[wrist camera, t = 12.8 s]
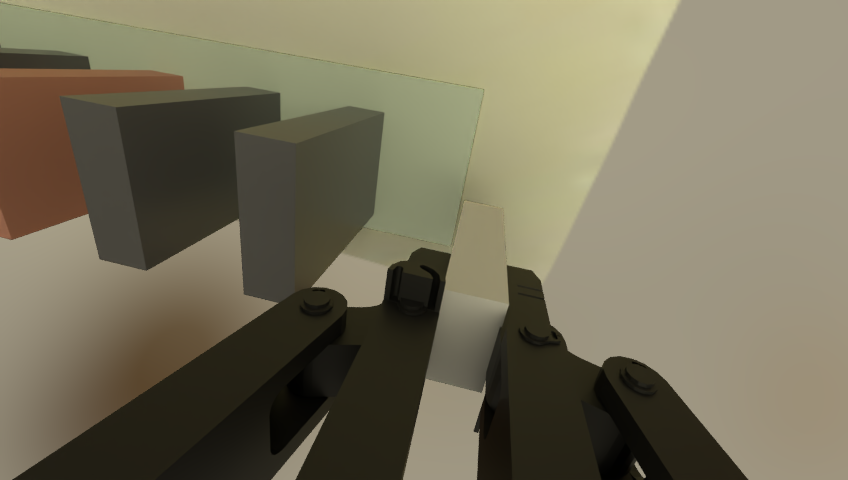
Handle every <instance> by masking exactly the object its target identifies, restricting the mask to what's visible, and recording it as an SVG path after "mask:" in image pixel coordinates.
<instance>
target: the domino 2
mask: <svg viewBox="0 0 848 480" xmlns="http://www.w3.org/2000/svg"><path fill="white" fill-rule="evenodd" d="M383 123H384V112H379V111H374V110H368V109H363V108H358V107H352V106H347V107H342V108H337V109H333V110H328V111H324V112H319V113H315V114H310V115H305V116H301V117H296V118H292V119H287V120H282V121H278V122H273V123H269V124H264V125H260V126H255V127H250V128H246V129H241V130H237V131H234V139H235V156H236V172H237V189H238V205H239V222H240V238H241V253H242V270H243V287H244V294H245V295H249V296H253V297H257V298H261V299H265V300H269V301H273V302H278V303H280V302H281V301H283V300H284V299H286V298H287V297H289V296H290V295H292V294H293V293H295V292H298V291H300V290H302V289H307V288H311V287H312V285H313V284H314V283H315V282H316V281H317V280H318V279H319V277H320V276H321V275H322V274H323V273H324V272H325V270H326V269H327V268H328V267H329V266H330V265H331V264H332V262H333V261H334V260H335V259H336V258H337V257H338V255H339V254H340V253H341V252H342V251H343V250H344V248H345V247H346V246H347V245H348V244H349V243H350V241H351V240H352V239H353V238H354V237H355V236H356V235H357V233H358V232H359V231H360V230H361V229H362V228H363V226H364V225H365V224H366V223H367V222H368V221H369V219H370V218H371V217H372V216H373V215H374V207H375V198H376V188H377V179H378V170H379V160H380V151H381V141H382V132H383Z"/></svg>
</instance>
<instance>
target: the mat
mask: <svg viewBox="0 0 848 480" xmlns="http://www.w3.org/2000/svg"><path fill="white" fill-rule="evenodd" d="M0 45H1V48H15V49H34V50H52V51H62V52H67V53H72V54H77V55H83V56H88V58H89V63H90V68H91V69H93V70H153V71H158V72H163V73H169V74H174V75H179V76H183V81H184V90H187V89H207V88H227V87H252V88H257V89H263V90H268V91H273V92H278V93H280V111H281V121H282V120H287V119H292V118H296V117H301V116H305V115H310V114H315V113H319V112H324V111H328V110H333V109H337V108H342V107H347V106H352V107H358V108H363V109H368V110H374V111H379V112H384V123H383V132H382V141H381V151H380V160H379V170H378V179H377V188H376V198H375V207H374V215H373V216H372V217H371V218H370V219H369V221H368V222H367V223H366V224H365V225H364V226H363V227H364V228H368V229H373V230H377V231H382V232H387V233H391V234H396V235H400V236H405V237H409V238H414V239H419V240H423V241H428V242H432V243H437V244H441V245H446V246H450V247H451V244H452V239H453V235H454V230H455V225H456V220H457V216H458V211H459V206H460V201H461V197H462V192H463V187H464V183H465V178H466V173H467V168H468V164H469V159H470V154H471V149H472V145H473V140H474V135H475V130H476V126H477V121H478V116H479V112H480V107H481V102H482V97H483V93H484V89H479V88H473V87H468V86H462V85H457V84H451V83H446V82H440V81H434V80H429V79H423V78H418V77H412V76H406V75H401V74H395V73H390V72H384V71H378V70H373V69H367V68H362V67H356V66H350V65H345V64H339V63H334V62H328V61H323V60H317V59H311V58H306V57H300V56H295V55H289V54H283V53H278V52H272V51H267V50H261V49H255V48H250V47H244V46H239V45H233V44H228V43H222V42H216V41H211V40H205V39H200V38H194V37H188V36H183V35H177V34H172V33H166V32H160V31H155V30H149V29H144V28H138V27H132V26H127V25H121V24H116V23H110V22H105V21H99V20H93V19H88V18H82V17H77V16H71V15H65V14H60V13H54V12H49V11H43V10H37V9H32V8H26V7H21V6H15V5H10V4H4V3H0Z"/></svg>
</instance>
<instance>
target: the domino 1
mask: <svg viewBox="0 0 848 480" xmlns="http://www.w3.org/2000/svg"><path fill="white" fill-rule="evenodd" d="M59 97H60V101H61V105H62V109H63V113H64V117H65V121H66V125H67V129H68V133H69V137H70V141H71V145H72V149H73V153H74V157H75V162H76V166H77V170H78V174H79V178H80V182H81V186H82V190H83V194H84V198H85V202H86V206H87V210H88V214H89V218H90V222H91V226H92V230H93V234H94V238H95V242H96V246H97V250H98V254H99V258H100V259H101V260H105V261H109V262H113V263H118V264H121V265H126V266H130V267H134V268H138V269H142V270H148V269H150V268H152V267H154V266H156V265H157V264H159V263H161V262H163V261H164V260H166V259H168V258H170V257H171V256H173V255H175V254H177V253H179V252H180V251H182V250H184V249H186V248H187V247H189V246H191V245H193V244H195V243H196V242H198V241H200V240H202V239H203V238H205V237H207V236H209V235H211V234H212V233H214V232H216V231H218V230H219V229H221V228H223V227H225V226H226V225H228V224H230V223H232V222H234V221H235V220H237V219H239V205H238V189H237V172H236V156H235V139H234V131H237V130H241V129H246V128H250V127H255V126H260V125H264V124H269V123H273V122H278V121H281V111H280V93H278V92H273V91H268V90H263V89H257V88H252V87H227V88H207V89H187V90H167V91H147V92H127V93H107V94H87V95H66V96H59Z"/></svg>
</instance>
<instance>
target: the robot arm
mask: <svg viewBox="0 0 848 480" xmlns="http://www.w3.org/2000/svg"><path fill="white" fill-rule="evenodd" d="M542 291H543V290H542V285H541V281H540V279H539V278H538V277H537V276H536V275H535V274H534V273H533V271H531V270H526V269H522V268H517V267H513V266H508V265H507V263H506V246H505V230H504V214H503V208H500V207H495V206H490V205H485V204H480V203H476V202H471V201H466V200H464V204H463V208H462V212H461V216H460V220H459V224H458V229H457V233H456V237H455V241H454V245H453V249H452V253H451V254H448V253H444V252H439V251H435V250H430V249H426V248H420V249H418V250H416V251H415V252H413V253H412V254H411V256H410V258H409V260H408V261H400V262H397V263H395V264H392V265H391V266H390V267H389V268H388V271H387V279H386V286H385V294H384V300H383V302H382V304H380V305H377V306H372V307H362V308H361V307H347V300H346V299H345V298H344V296H343V295H342V294H340V293H338V292H337V291H335V290H331V289H328V288H319V287H318V288H317V287H313V288H307V289H302V290H300V291H298V292H295V293H293V294H292V295H290V296H289V297H287V298H286V299H284V300H283V301H281V302H280V303H278V304H277V305H275V306H274V307H272V308H270V309H269V310H268V311H266V312H264V313H263V314H261V315H260V316H258V317H257V318H255V319H254V320H252V321H251V322H249V323H248V324H246V325H245V326H243V327H242V328H241V329H239V330H237V331H236V332H234V333H233V334H231V335H230V336H228V337H227V338H225V339H224V340H222V341H221V342H219V343H218V344H216V345H215V346H213V347H212V348H210V349H209V350H207V351H206V352H204V353H203V354H201V355H200V356H198V357H197V358H195V359H194V360H192V361H191V362H189V363H188V364H186V365H185V366H183V367H182V368H180V369H179V370H177V371H176V372H174V373H173V374H171V375H170V376H168V377H166V378H165V379H164V380H162V381H160V382H159V383H157V384H156V385H154V386H153V387H152V388H150V389H148V390H147V391H145V392H144V393H143V394H141V395H139V396H138V397H136V398H135V399H133V400H132V401H131V402H129V403H127V404H126V405H124V406H123V407H121V408H120V409H118V410H117V411H115V412H114V413H112V414H111V415H109V416H108V417H106V418H105V419H103V420H102V421H100V422H99V423H97V424H96V425H94V426H93V427H91V428H90V429H88V430H87V431H85V432H84V433H82V434H81V435H79V436H78V437H76V438H75V439H73V440H72V441H70V442H69V443H67V444H66V445H64V446H63V447H61V448H60V449H58V450H57V451H55V452H54V453H52V454H50V455H49V456H47V457H46V458H44V459H43V460H41V461H40V462H38V463H37V464H35V465H34V466H32V467H31V468H29V469H28V470H26V471H25V472H23V473H22V474H20V475H19V476H17V477H16V478H14V479H13V480H271V479H272V478H273V477H274V476H275V474H276V473H277V472H278V471H279V470H280V468H281V467H282V466H283V465H284V464H285V462H286V461H287V460H288V459H289V458H290V456H291V455H292V454H293V453H294V452H295V451H296V449H297V448H298V447H299V446H300V445H301V443H302V442H303V441H304V440H305V438H306V437H307V436H308V435H309V434H310V433H311V432H312V430H313V429H314V428H315V427H316V425H317V424H318V423H319V422H320V421H321V420H322V418H323V417H324V416H325V415H326V414H327V412H328V411H329V412H328V414H327V416H326V419H325V421H324V423H323V425H322V427H321V429H320V431H319V433H318V435H317V437H316V439H315V441H314V443H313V445H312V447H311V449H310V452H309V454H308V455H307V458H306V459H305V462H304V464H303V466H302V468H301V470H300V472H299V474H298V476H297V478H296V480H403V476H404V471H405V467H406V463H407V458H408V454H409V449H410V445H411V440H412V436H413V432H414V427H415V422H416V418H417V414H418V409H419V405H420V400H421V396H422V391H423V387H424V382H425V379H429V380H434V381H438V382H441V383H445V384H450V385H453V386H457V387H461V388H465V389H469V390H473V391H477V392H482V390H483V387H484V383H485V380H486V391H485V397H484V400H483V403H482V407H481V409H480V412H479V416H478V419H477V422H476V425H475V429H474V432H477V433H478V431H479V430H480V431H479V451H478V471H477V480H748V479H747V478H746V476H745V475H744V474H743V473H742V472H741V470H740V469H739V468H738V467H737V466H736V464H735V463H734V462H733V461H732V460H731V458H730V457H729V456H728V455H727V453H726V452H725V451H724V450H723V449H722V447H721V446H720V445H719V444H718V443H717V441H716V440H715V439H714V438H713V437H712V435H711V434H710V433H709V432H708V431H707V429H706V428H705V427H704V426H703V425H702V423H701V422H700V421H699V420H698V418H697V417H696V416H695V415H694V414H693V413H692V411H691V410H690V409H689V408H688V406H687V405H686V404H685V403H684V402H683V400H682V399H681V398H680V397H679V396H678V394H677V393H676V392H675V391H674V390H673V388H672V387H671V386H670V385H669V384H668V382H667V381H666V380H665V379H663V377H661V376H660V375H659V374H658V373H657V372H656V371H654V370H653V369H651V368H650V367H648V366H647V365H645V364H643V363H641V362H638V361H636V360H634V359H630V358H626V357H621V356H617V357H610V358H608V359H607V360H606V361H604V363H603V365H602V367H599V366H597V365H594V364H592V363H590V362H588V361H585V360H583V359H581V358H579V357H577V356H575V355H574V354H572V353H570V352H569V351H568V350H567V346H566V342H565V340H564V338H563V336H562V334H561V333H560V332H558V331H557V330H556V329H555V328H554V327H553V326H551V325H550V321H549V317H548V313H547V308H546V304H545V300H544V294H543V292H542ZM636 461H637V462H638V463H639V465H640V467H641V468H642V470H643V472H644V474H645V475H646V478H643V477H642V476H641V474H640V473H639V472H638V470H637V468H636V467H635V465H634V464H635V462H636Z"/></svg>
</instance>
